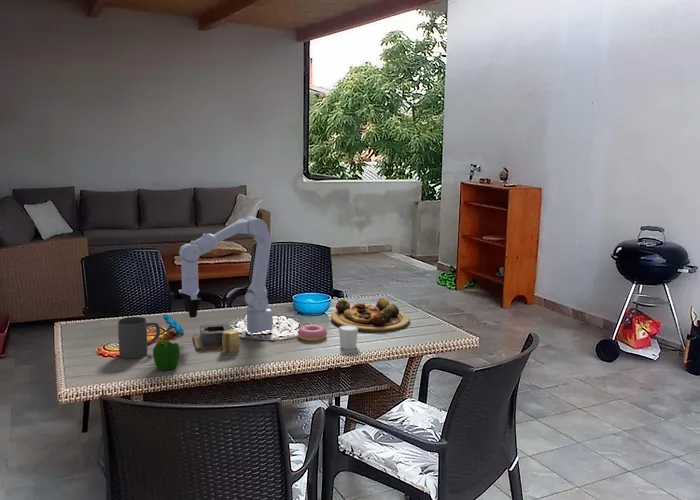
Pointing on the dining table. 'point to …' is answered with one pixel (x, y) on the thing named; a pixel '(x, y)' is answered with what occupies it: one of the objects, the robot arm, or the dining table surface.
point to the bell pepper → (166, 355)
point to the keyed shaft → (230, 341)
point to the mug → (134, 337)
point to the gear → (172, 324)
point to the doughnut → (312, 332)
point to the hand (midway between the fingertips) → (191, 314)
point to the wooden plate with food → (370, 316)
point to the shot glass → (348, 336)
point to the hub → (210, 336)
